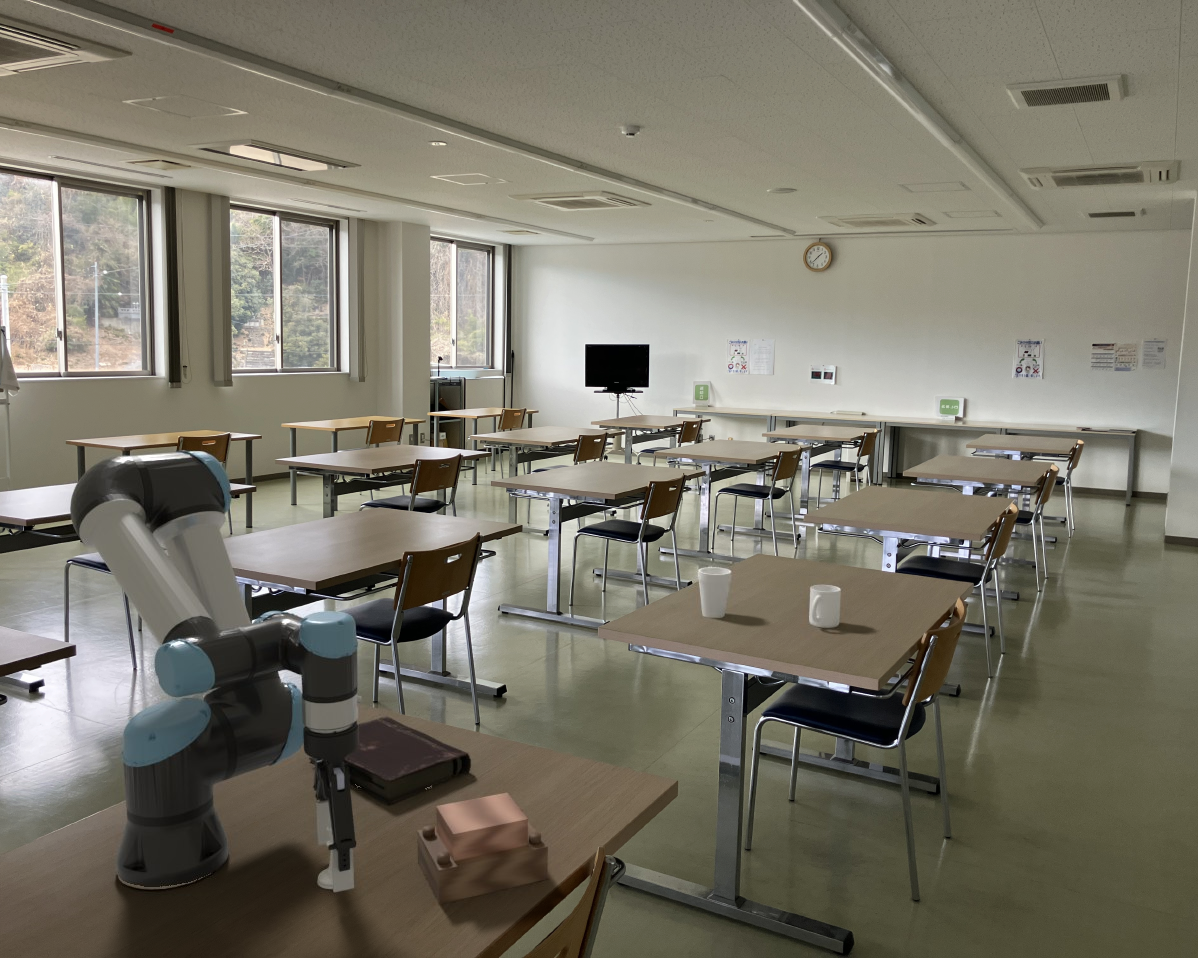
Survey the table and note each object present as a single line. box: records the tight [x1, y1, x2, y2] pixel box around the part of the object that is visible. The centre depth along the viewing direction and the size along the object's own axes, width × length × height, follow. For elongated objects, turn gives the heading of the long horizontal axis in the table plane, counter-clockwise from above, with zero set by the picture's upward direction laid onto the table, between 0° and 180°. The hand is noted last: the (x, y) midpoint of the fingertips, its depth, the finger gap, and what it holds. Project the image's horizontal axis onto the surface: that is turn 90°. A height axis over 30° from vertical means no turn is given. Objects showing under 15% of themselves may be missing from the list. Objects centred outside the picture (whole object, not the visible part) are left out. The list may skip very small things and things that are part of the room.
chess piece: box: [316, 817, 333, 890], centre depth 138 cm, size 5×5×10 cm
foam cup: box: [697, 566, 732, 619], centre depth 277 cm, size 10×9×13 cm
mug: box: [808, 584, 842, 629], centre depth 267 cm, size 12×8×10 cm
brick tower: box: [416, 792, 549, 905], centre depth 141 cm, size 16×12×9 cm
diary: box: [308, 715, 472, 807], centre depth 175 cm, size 19×25×5 cm
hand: (335, 864), depth 138 cm, fingers open, 13 cm apart
